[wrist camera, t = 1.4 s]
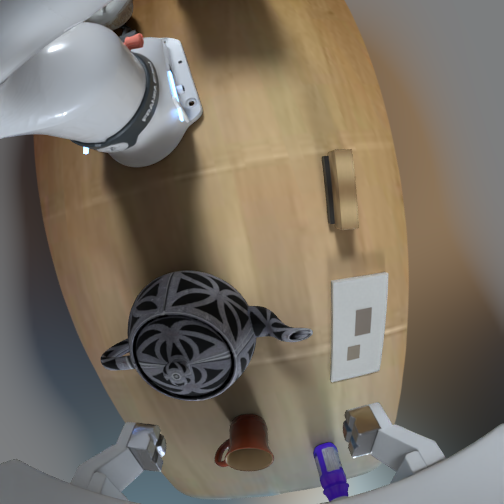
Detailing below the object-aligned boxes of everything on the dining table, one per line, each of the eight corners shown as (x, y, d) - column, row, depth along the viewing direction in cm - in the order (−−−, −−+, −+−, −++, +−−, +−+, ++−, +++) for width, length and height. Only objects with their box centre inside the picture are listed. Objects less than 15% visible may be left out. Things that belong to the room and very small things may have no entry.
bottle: (337, 451, 52) (355, 504, 35) (316, 459, 52) (329, 512, 35) (333, 437, 51) (352, 494, 34) (309, 445, 51) (324, 503, 34)
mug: (255, 403, 47) (257, 442, 37) (277, 425, 49) (282, 462, 39) (205, 423, 48) (200, 460, 38) (230, 443, 50) (228, 478, 40)
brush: (321, 153, 38) (329, 149, 34) (345, 153, 38) (356, 149, 34) (328, 226, 40) (337, 230, 36) (352, 224, 40) (363, 227, 36)
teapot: (306, 345, 45) (328, 403, 30) (143, 377, 45) (117, 431, 31) (281, 237, 41) (302, 263, 26) (102, 285, 41) (53, 322, 27)
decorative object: (110, 7, 30) (90, -18, 20) (148, 5, 31) (131, -25, 21) (90, 42, 32) (64, 19, 22) (128, 40, 33) (105, 13, 23)
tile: (330, 280, 42) (332, 282, 41) (385, 271, 42) (388, 273, 41) (329, 379, 46) (331, 382, 45) (377, 368, 47) (379, 370, 45)
